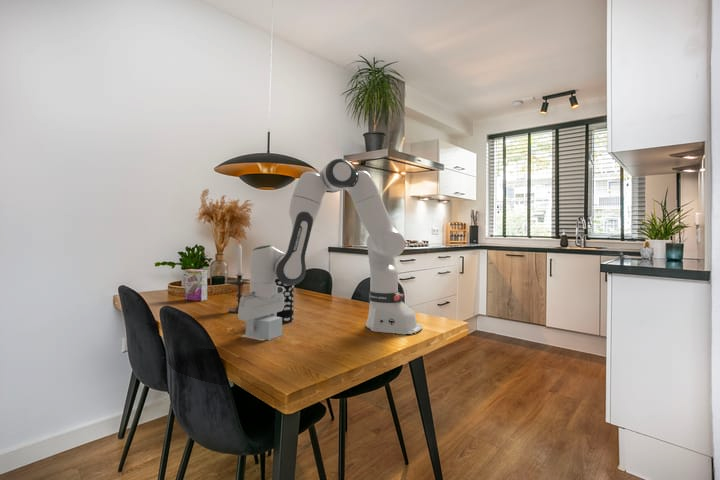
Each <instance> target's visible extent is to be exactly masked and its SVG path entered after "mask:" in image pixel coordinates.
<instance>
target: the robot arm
mask: <svg viewBox="0 0 720 480" xmlns="http://www.w3.org/2000/svg"><path fill="white" fill-rule="evenodd" d="M342 190H344V191H347V193H348V194H349V195H350V198H351V200H352V202H353V205H354V208H355V210H356V212H357V215H358V218H359V220H360V222H361V224H362V225H363V226H364V228H365V230H366V231H367V233H368V236H367V238H366V242H365V244H366V247H367V253H368V254H367V255H368V263H369V269H370V270H369V272H370V280H369V281H370V283H369V284H370V286H369V287H370V289H369V292H368V304H369V307H368V315H367V320H366V323H365V326H366V328H368V329H370V331H371V332H375V333H376V332H378V333H386V334H395V333H396V335H398V334H399V335H406V334H411V335H413V334H412V333H415V332H418V331H419V330H421V329H422V330H423V325H422V324H420V323H417V317H416V313H415V311H414V310H413V309H412V308H411V307H409V306H408V304H406V303H404V301H403V297H404V293H401V292H399V289H398V288H399V281H398V280H399V271H398V269H397V266H396V260H395V258H396V257H398V256H400V255H401V254H402V253H403V252H404V250H405V248H406V240H405V238H404V236H403V235H402V233H400V231H399V230H398V228H397V226H396V225H395V223H394V221H393V220H392V218H391V215H390V214H389V212H388V211H387V208H386V206H385V203H384V201H383V198H382V195H381V193H380V191H379V189H378V187H377V184H376V182H375V181H374V179H373V178H372V176H371V174H370V173H369V172H368V171H366V170H358V169H357V168H356V167H355V166H353V164H352V163H351V162H349V160H346V159H344V158H335V159H333V160H331V161H330V162H328V163H327V164H326V165H325V166H324V167H323V168H322V170H321V171H320V172H316V171H305V172H303V173H302V174H301V175H300V177H299V179H298V181H297V183H296V184H295V187H294V190H293V193H292V196H291V199H290V204H289V214H288V215H289V218H290V221H291V224H292V225H291V226H292V231H291V236H290V239H289V241H288V242H289V243H288V246H287V250H286V252H283V251H282V250H279V249H277V248H276V247H274V246H273V245H271V244H269V245H260V246H257V247H255V248H254V249H253V250H252V251H250V252H251V253H250V259H249V272H250V273H249V274H250V279H249V280H250V283H249V292H247V293H242V295H243V296H242V297H241V298H240V303H239V310H238V313H237V318H238V320H239V321H242V322H246V321H247V323H248V325H249V330H250V331H251V332H253V331H256V326H254V324H253V322H254V319H255V318H259V317H263V316H266V315H269V316H277V312H280V311H283V309H284V294H283V292H284V287H281V286H278V285H275V279H279V280H280V281H281V282H282V283H283V284H285V285H294V286H295V285H297V284H300V283H301V282H302V281H303V280H304V279H305V277H306V273H307V267H306V252H307V248H308V245H309V241H310V236H311V233H312V228H313V226H314V224H315V221H316V219H317V217H318V214H319V211H320V208H321V204H322V201H323V197H324V195H325V194H326V193H331V194H333V193H338V192H340V191H342ZM422 330H421V331H422ZM418 333H419V332H418ZM415 334H416V333H415Z"/></svg>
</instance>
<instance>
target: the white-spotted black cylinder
mask: <svg viewBox="0 0 720 480" xmlns="http://www.w3.org/2000/svg"><path fill="white" fill-rule="evenodd" d="M275 285H278V286H281V287H284V292H283V294H284V309H283V311H280V312H277V316H276V317H282V324H289V323H292V322H294V312H295V311H294V307H295V306H294V298H295V297H294V292H295V291H294V290H295V289H294V288H295V287H294V286H295V285H285V284H283V283H282V282H281V281H280V280H279V279H275Z"/></svg>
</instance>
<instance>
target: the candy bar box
mask: <svg viewBox="0 0 720 480" xmlns="http://www.w3.org/2000/svg"><path fill="white" fill-rule="evenodd" d="M184 300H185V301H191V300H195V301H194V302H204V301H203V300H205V301H208V270H206V269H193V268H191V269H185V270H184Z"/></svg>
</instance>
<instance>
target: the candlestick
mask: <svg viewBox="0 0 720 480" xmlns="http://www.w3.org/2000/svg"><path fill="white" fill-rule="evenodd" d="M237 239H238V246H237V274H235V276H236V278H235V279H227V282H226V284H228V285H235V286H236V287H237V294H236V295H235V296H236V297H237V299H236V302H237V306H236V307H231V308H230V309H229V310H228V311H229V313H230V312H231V314H238V310H239V303H240V298H241V297H242V296H243V293H242V287H243V286H244V285H250V279H249V278H248V279H246V278H243V273H242V271H243V270H242V269H243V268H242V267H243V266H242V265H243V261H242V260H243V259H242V258H243V255H242V254H243V251H242V250H243V247H242V245H241V239H240V237H238V238H237Z"/></svg>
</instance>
